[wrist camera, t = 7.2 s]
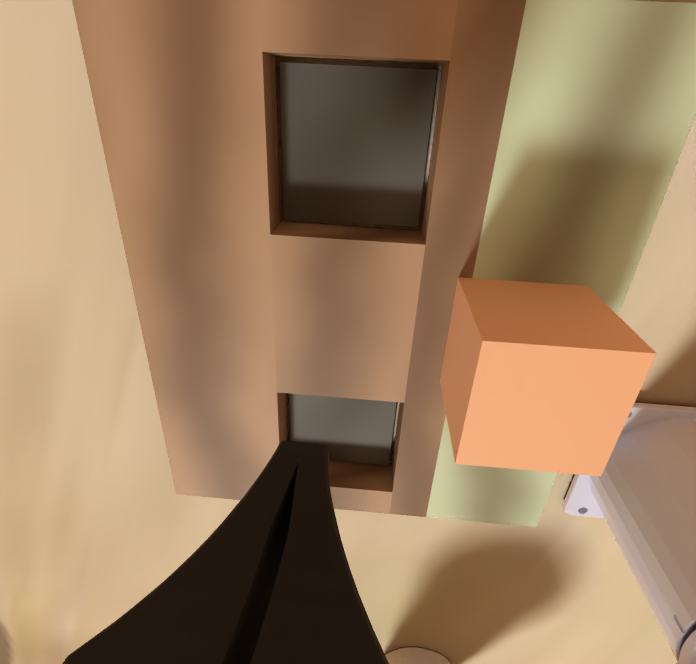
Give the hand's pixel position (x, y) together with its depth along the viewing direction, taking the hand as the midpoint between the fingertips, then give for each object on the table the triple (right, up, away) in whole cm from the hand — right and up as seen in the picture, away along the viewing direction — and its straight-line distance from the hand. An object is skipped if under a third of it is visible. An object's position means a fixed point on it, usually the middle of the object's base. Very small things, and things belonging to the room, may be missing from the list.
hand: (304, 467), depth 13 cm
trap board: (+2, +5, +8) cm, 10 cm away
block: (+8, +4, +6) cm, 11 cm away
